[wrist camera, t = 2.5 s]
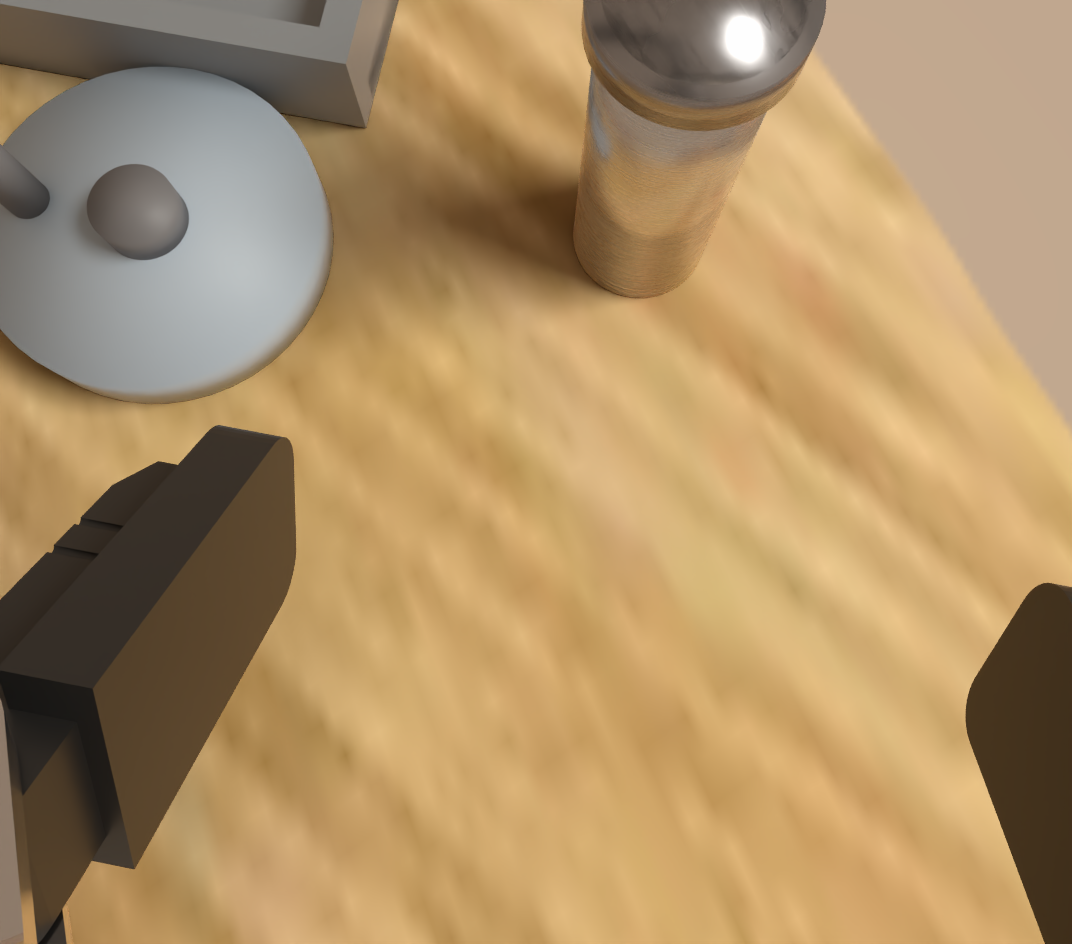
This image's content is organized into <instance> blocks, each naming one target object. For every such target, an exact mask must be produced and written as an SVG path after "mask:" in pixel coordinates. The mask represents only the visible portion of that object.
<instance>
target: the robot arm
mask: <svg viewBox="0 0 1072 944" xmlns="http://www.w3.org/2000/svg"><path fill="white" fill-rule="evenodd" d="M295 558H296V524H295V488H294V457H293V449H292V445H291V443H290V441H289V440H288V439H287V438H285V437H279V436H274V435H269V434H263V433H258V432H253V431H248V430H242V429H237V428H232V427H226V426H221V425H218V426H214V427H213V428H211V429H210V430H209V431H208V432H207V433H206V434H205V435H204V437H203V438H202V439H201V440H200V441H199V442H198V443H197V444H196V445H195V447H194V448H193V449H192V450H191V451H190V452H189V453H188V454H187V456H186V457H185V458H184V459H183V460H182V461H181V462H180V463H179V465H175V464H170V463H165V462H159V461H158V462H156V463H154V464H152V465H150V466H148V467H146V468H144V469H143V470H141V471H139V472H137V473H135V474H133V475H131V476H129V477H127V478H125V479H123V480H121V481H119V482H117V483H116V484H114V485H112V486H111V487H110V488H109V489H108V490H107V491H106V492H105V493H104V494H103V495H102V496H101V497H100V498H99V499H98V500H97V501H96V502H95V504H94V505H93V506H92V507H91V508H90V509H89V510H88V511H87V512H86V513H85V514H84V515H83V516H82V517H81V521H80V524H79V525H76V524H74V525H73V526H72V527H71V528H70V529H69V530H68V531H67V532H66V533H65V534H64V535H63V536H62V537H61V538H60V539H59V540H58V541H57V542H56V543H55V544H54V550H53V552H52V553H49V552H47V553H46V554H45V555H44V556H43V557H42V558H41V559H40V560H39V561H38V562H37V563H36V564H35V565H34V566H33V567H32V568H31V569H30V570H29V571H28V572H27V573H26V574H25V575H24V576H23V577H22V578H21V579H20V580H19V581H18V582H17V583H16V584H15V585H14V587H13V588H12V589H11V590H10V591H9V592H8V593H7V594H6V595H5V596H4V597H3V598H2V599H1V600H0V944H73V939H72V932H71V924H70V916H69V910H68V906H67V900H68V899H69V897H70V896H71V894H72V892H73V891H74V889H75V887H76V886H77V884H78V882H79V881H80V879H81V877H82V876H83V874H84V873H85V871H86V869H87V868H88V866H89V864H90V863H91V861H96V862H101V863H106V864H111V865H116V866H121V867H126V868H131V869H135V867H136V866H137V864H138V862H139V860H140V859H141V857H142V855H143V853H144V851H145V850H146V848H147V846H148V844H149V842H150V841H151V839H152V837H153V835H154V833H155V832H156V830H157V828H158V826H159V824H160V823H161V821H162V819H163V817H164V815H165V814H166V812H167V810H168V808H169V807H170V805H171V803H172V801H173V799H174V798H175V796H176V794H177V792H178V790H179V789H180V787H181V785H182V783H183V781H184V780H185V778H186V776H187V774H188V772H189V771H190V769H191V767H192V765H193V763H194V762H195V760H196V758H197V756H198V755H199V753H200V751H201V749H202V747H203V746H204V744H205V742H206V740H207V738H208V737H209V735H210V733H211V731H212V729H213V728H214V726H215V724H216V722H217V720H218V719H219V717H220V715H221V713H222V711H223V710H224V708H225V706H226V704H227V702H228V701H229V699H230V697H231V695H232V694H233V692H234V690H235V688H236V686H237V685H238V683H239V681H240V679H241V677H242V676H243V674H244V672H245V670H246V668H247V667H248V665H249V663H250V661H251V659H252V658H253V656H254V654H255V652H256V650H257V649H258V647H259V645H260V643H261V642H262V640H263V638H264V636H265V634H266V633H267V631H268V629H269V627H270V625H271V624H272V622H273V620H274V618H275V616H276V615H277V613H278V611H279V609H280V607H281V606H282V604H283V602H284V599H285V597H286V595H287V592H288V589H289V586H290V583H291V579H292V575H293V571H294V565H295ZM966 728H967V734H968V737H969V741H970V744H971V746H972V749H973V752H974V754H975V757H976V760H977V762H978V765H979V768H980V770H981V773H982V776H983V779H984V781H985V784H986V787H987V789H988V792H989V795H990V797H991V800H992V803H993V805H994V808H995V811H996V813H997V816H998V819H999V821H1000V824H1001V827H1002V829H1003V832H1004V835H1005V838H1006V840H1007V843H1008V846H1009V848H1010V851H1011V854H1012V856H1013V859H1014V862H1015V864H1016V867H1017V870H1018V872H1019V875H1020V878H1021V880H1022V883H1023V886H1024V889H1025V891H1026V894H1027V897H1028V899H1029V902H1030V905H1031V907H1032V910H1033V913H1034V915H1035V918H1036V921H1037V923H1038V926H1039V929H1040V931H1041V934H1042V937H1043V939H1044V942H1045V944H1072V587H1068V586H1062V585H1057V584H1052V583H1043V584H1041V585H1038V586H1037V587H1035V588H1034V589H1033V590H1032V591H1031V592H1030V593H1029V594H1028V595H1027V596H1026V598H1025V599H1024V601H1023V602H1022V604H1021V605H1020V607H1019V609H1018V610H1017V612H1016V613H1015V615H1014V617H1013V618H1012V620H1011V621H1010V623H1009V625H1008V626H1007V628H1006V629H1005V631H1004V633H1003V634H1002V636H1001V637H1000V639H999V641H998V642H997V644H996V645H995V647H994V649H993V650H992V652H991V653H990V655H989V657H988V658H987V660H986V661H985V663H984V664H983V666H982V668H981V669H980V671H979V672H978V674H977V676H976V677H975V679H974V681H973V683H972V685H971V688H970V691H969V694H968V698H967V704H966Z"/></svg>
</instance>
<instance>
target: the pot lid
mask: <svg viewBox="0 0 1072 944" xmlns="http://www.w3.org/2000/svg"><path fill="white" fill-rule="evenodd" d="M333 235H334V234H333V225H332V215H331V211H330V207H329V203H328V199H327V195H326V193H325V191H324V188H323V186H322V183H321V181H320V178H319V176H318V174H317V172H316V170H315V167H314V165H313V163H312V161H311V158H310V156H309V154H308V152H307V150H306V148H305V147H304V145H303V143H302V141H301V140H300V138H299V136H298V135H297V133H296V132H295V131H294V129H293V128H292V127H291V126H290V124H289V123H288V122H287V121H286V119H285V118H284V117H283V116H282V115H281V114H280V113H279V112H278V111H277V110H275V109H274V108H273V107H272V106H271V105H270V104H269V103H268V102H266V101H265V100H264V99H262V98H261V97H259V96H258V95H256V94H255V93H254V92H252V91H250V90H249V89H247V88H245V87H243V86H241V85H239V84H237V83H235V82H233V81H231V80H228V79H225V78H223V77H220V76H217V75H215V74H211V73H207V72H203V71H198V70H194V69H187V68H178V67H142V68H134V69H126V70H122V71H118V72H113V73H109V74H105V75H102V76H99V77H96V78H94V79H91V80H88V81H85V82H83V83H81V84H79V85H77V86H75V87H73V88H71V89H69V90H66V91H64V92H63V93H61V94H60V95H58V96H56V97H55V98H53V99H52V100H50V101H49V102H47V103H45V104H44V105H43V106H42V107H40V108H39V109H38V110H37V111H35V112H34V113H33V114H32V115H30V116H29V117H28V118H27V119H26V120H25V121H24V122H23V123H22V124H21V125H20V126H19V127H18V128H17V129H16V130H15V131H14V132H13V133H12V134H11V136H10V137H9V138H8V139H7V141H6V142H5V143H4V145H3V146H2V145H1V144H0V329H1V331H2V332H3V333H4V334H5V335H6V336H7V337H8V338H9V339H10V340H11V341H12V342H13V343H14V344H15V345H16V346H17V347H18V348H19V349H20V350H22V351H23V352H24V353H25V354H27V355H28V356H29V357H30V358H32V359H33V360H34V361H36V362H38V363H40V364H41V365H43V366H45V367H46V368H48V369H50V370H52V371H53V372H55V373H57V374H59V375H61V376H62V377H64V378H66V379H68V380H69V381H71V382H73V383H75V384H77V385H78V386H80V387H82V388H84V389H87V390H89V391H92V392H94V393H97V394H99V395H102V396H106V397H110V398H114V399H117V400H121V401H128V402H136V403H145V404H149V403H174V402H181V401H189V400H193V399H197V398H201V397H205V396H209V395H212V394H215V393H217V392H220V391H222V390H225V389H227V388H230V387H233V386H234V385H236V384H238V383H240V382H242V381H244V380H246V379H247V378H249V377H251V376H253V375H254V374H256V373H257V372H259V371H260V370H261V369H263V368H264V367H266V366H267V365H268V364H270V363H271V362H272V361H273V360H275V359H276V358H277V357H278V356H279V355H280V354H281V353H282V352H283V351H284V350H285V349H287V348H288V346H289V345H290V344H291V343H292V342H293V341H294V339H295V338H296V337H297V336H298V335H299V334H300V332H301V331H302V330H303V328H304V327H305V325H306V324H307V322H308V321H309V319H310V318H311V316H312V315H313V313H314V311H315V309H316V307H317V305H318V303H319V301H320V298H321V296H322V294H323V291H324V288H325V285H326V282H327V279H328V276H329V272H330V267H331V261H332V256H333Z"/></svg>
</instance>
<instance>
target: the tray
mask: <svg viewBox="0 0 1072 944" xmlns="http://www.w3.org/2000/svg"><path fill="white" fill-rule="evenodd" d="M397 4H398V0H0V63H1V64H7V65H12V66H18V67H24V68H29V69H35V70H41V71H46V72H52V73H58V74H63V75H69V76H75V77H80V78H86V79H94V78H96V77H99V76H102V75H105V74H109V73H113V72H118V71H122V70H126V69H134V68H142V67H178V68H187V69H194V70H198V71H203V72H207V73H211V74H215V75H217V76H220V77H223V78H225V79H228V80H231V81H233V82H235V83H237V84H239V85H241V86H243V87H245V88H247V89H249V90H250V91H252V92H254V93H255V94H256V95H258V96H259V97H261V98H262V99H264V100H265V101H266V102H268V103H269V104H270V105H271V106H272V107H273V108H274V109H275V110H277V111H278V112H279V113H284V114H290V115H296V116H301V117H307V118H312V119H318V120H324V121H329V122H335V123H341V124H346V125H352V126H358V127H363V128H366V126H367V122H368V118H369V115H370V111H371V107H372V103H373V99H374V95H375V91H376V87H377V83H378V79H379V75H380V71H381V67H382V63H383V59H384V55H385V51H386V47H387V43H388V39H389V35H390V31H391V27H392V24H393V20H394V16H395V12H396V8H397Z"/></svg>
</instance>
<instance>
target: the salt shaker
mask: <svg viewBox="0 0 1072 944" xmlns="http://www.w3.org/2000/svg"><path fill="white" fill-rule="evenodd" d="M825 9H826V0H583V12H582V39H583V45H584V49H585V52H586V56H587V59H588V62H589V64H590V66H591V77H590V86H589V95H588V104H587V113H586V122H585V131H584V140H583V149H582V158H581V167H580V176H579V185H578V194H577V203H576V212H575V221H574V230H573V242H574V248H575V252H576V255H577V258H578V260H579V262H580V264H581V266H582V267H583V269H584V270H585V272H586V273H587V274H588V275H589V276H590V277H591V278H592V279H593V280H594V281H595V282H596V283H597V284H599V285H600V286H602V287H603V288H605V289H607V290H609V291H611V292H613V293H616V294H618V295H622V296H626V297H633V298H647V297H654V296H658V295H662V294H664V293H667V292H669V291H671V290H673V289H675V288H676V287H678V286H679V285H680V284H682V283H683V282H684V281H685V280H686V279H687V278H688V277H689V276H690V275H691V273H692V272H693V271H694V269H695V268H696V266H697V264H698V262H699V260H700V258H701V255H702V253H703V251H704V249H705V247H706V244H707V242H708V240H709V238H710V236H711V233H712V231H713V229H714V227H715V224H716V222H717V220H718V218H719V216H720V213H721V211H722V209H723V207H724V205H725V202H726V200H727V198H728V196H729V194H730V191H731V189H732V187H733V185H734V183H735V180H736V178H737V176H738V174H739V171H740V169H741V167H742V165H743V163H744V160H745V158H746V156H747V154H748V152H749V149H750V147H751V145H752V143H753V141H754V138H755V136H756V134H757V132H758V129H759V127H760V125H761V123H762V121H763V118H764V116H765V114H766V112H767V111H768V110H769V109H771V108H772V107H774V106H775V105H776V104H777V103H778V102H779V101H780V100H781V99H782V98H783V97H784V96H785V95H786V94H787V93H788V92H789V90H790V89H791V88H792V87H793V85H794V84H795V82H796V80H797V78H798V77H799V75H800V73H801V71H802V69H803V67H804V65H805V63H806V61H807V59H808V57H809V54H810V52H811V50H812V48H813V46H814V44H815V42H816V40H817V38H818V35H819V33H820V30H821V27H822V25H823V20H824V15H825Z"/></svg>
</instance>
